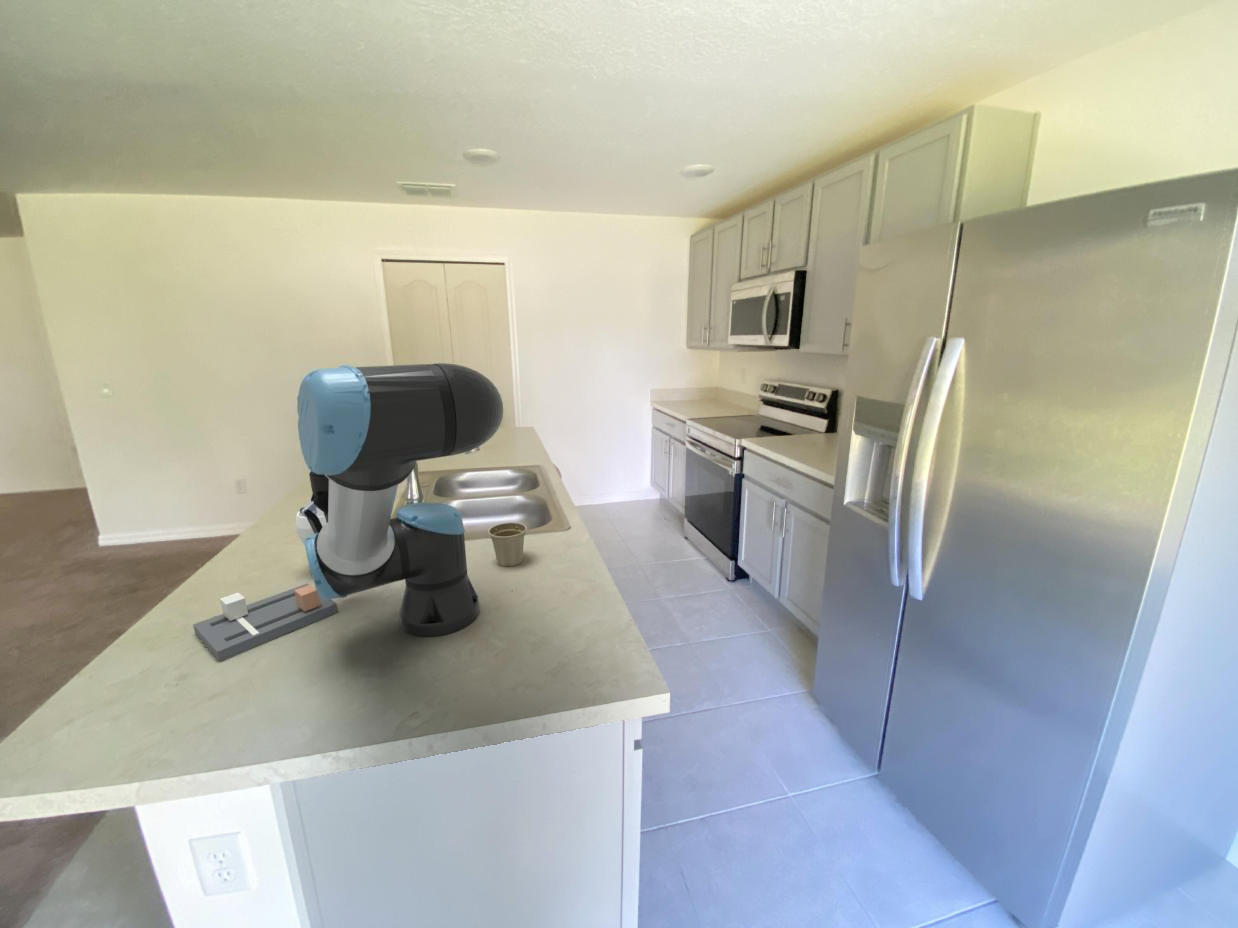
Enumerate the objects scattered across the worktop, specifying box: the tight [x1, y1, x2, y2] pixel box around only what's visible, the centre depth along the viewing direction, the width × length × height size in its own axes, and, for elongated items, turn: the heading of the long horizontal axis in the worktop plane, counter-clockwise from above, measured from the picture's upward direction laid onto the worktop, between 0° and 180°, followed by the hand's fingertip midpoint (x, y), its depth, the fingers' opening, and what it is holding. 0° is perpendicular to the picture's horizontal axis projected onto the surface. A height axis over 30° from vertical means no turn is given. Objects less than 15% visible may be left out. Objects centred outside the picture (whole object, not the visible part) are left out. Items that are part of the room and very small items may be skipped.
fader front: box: [294, 584, 321, 612], centre depth 100 cm, size 4×3×4 cm
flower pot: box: [487, 522, 528, 567], centre depth 124 cm, size 9×9×9 cm
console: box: [192, 583, 339, 663], centre depth 99 cm, size 14×20×2 cm
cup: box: [295, 507, 326, 546], centre depth 120 cm, size 11×11×15 cm
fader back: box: [219, 592, 248, 621], centre depth 97 cm, size 4×3×4 cm
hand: (346, 574), depth 106 cm, fingers closed
